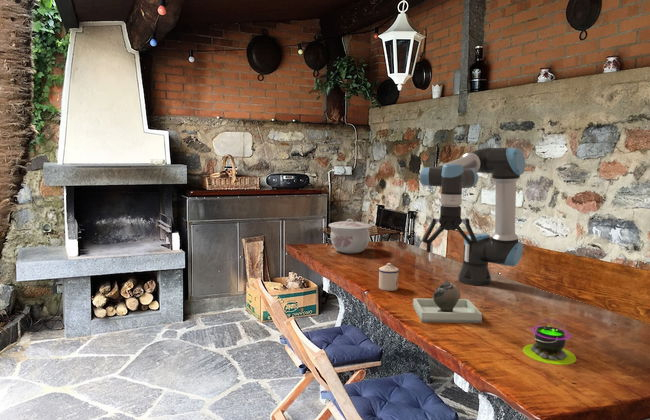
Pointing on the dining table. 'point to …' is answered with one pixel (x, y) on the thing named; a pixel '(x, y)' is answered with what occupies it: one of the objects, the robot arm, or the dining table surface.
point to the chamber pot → (350, 236)
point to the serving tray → (460, 314)
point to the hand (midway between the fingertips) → (448, 261)
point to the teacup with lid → (388, 277)
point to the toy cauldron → (549, 346)
